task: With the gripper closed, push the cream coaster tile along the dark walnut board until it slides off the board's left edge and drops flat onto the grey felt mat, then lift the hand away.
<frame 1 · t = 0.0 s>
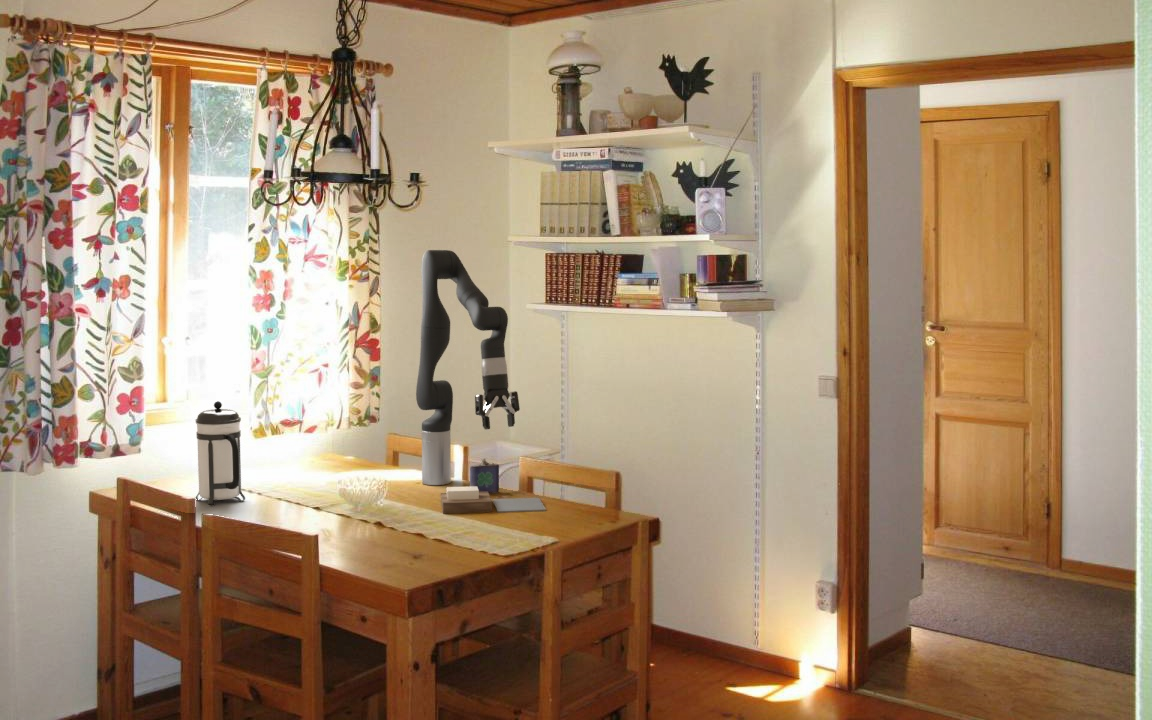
hand: (499, 427, 327), 22 cm above the table, tool pointing down, fingers open, 8 cm apart
mat: (518, 505, 324), on the table
coffee press: (223, 502, 328), on the table
board: (466, 507, 322), on the table
tile: (462, 493, 321), point 4 cm above the table, touching board
flask: (484, 493, 341), on the table
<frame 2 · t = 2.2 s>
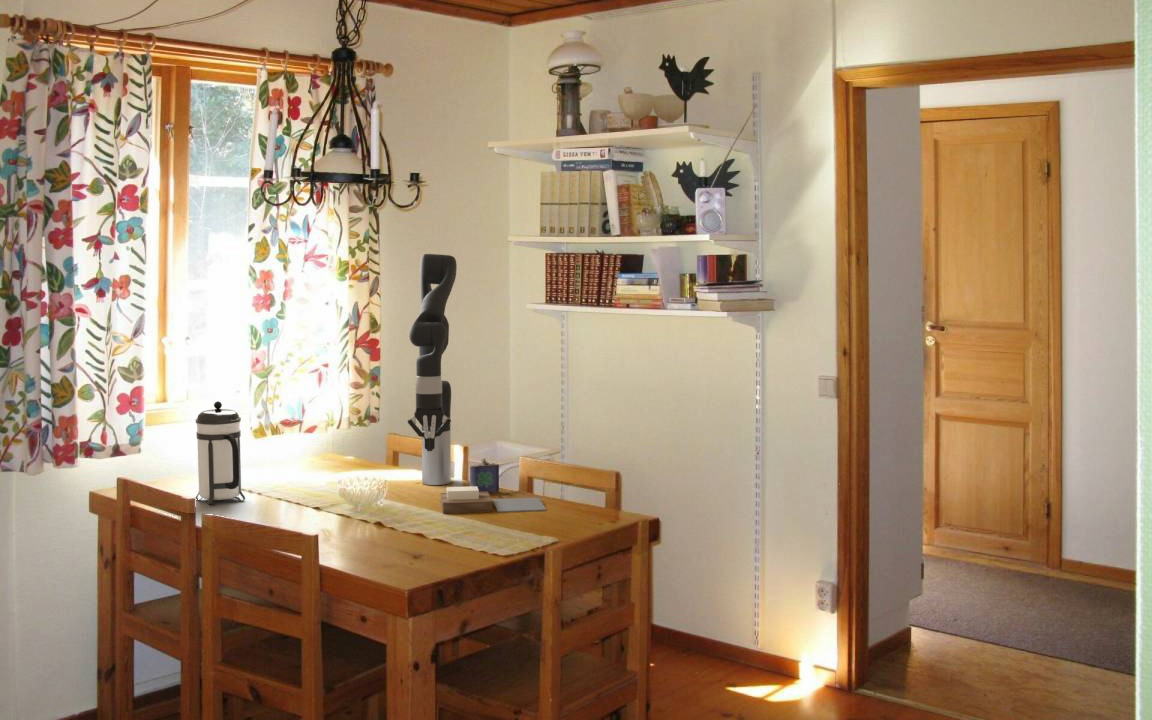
hand: (429, 450, 318), 17 cm above the table, tool pointing down, fingers closed
nothing on the table moved.
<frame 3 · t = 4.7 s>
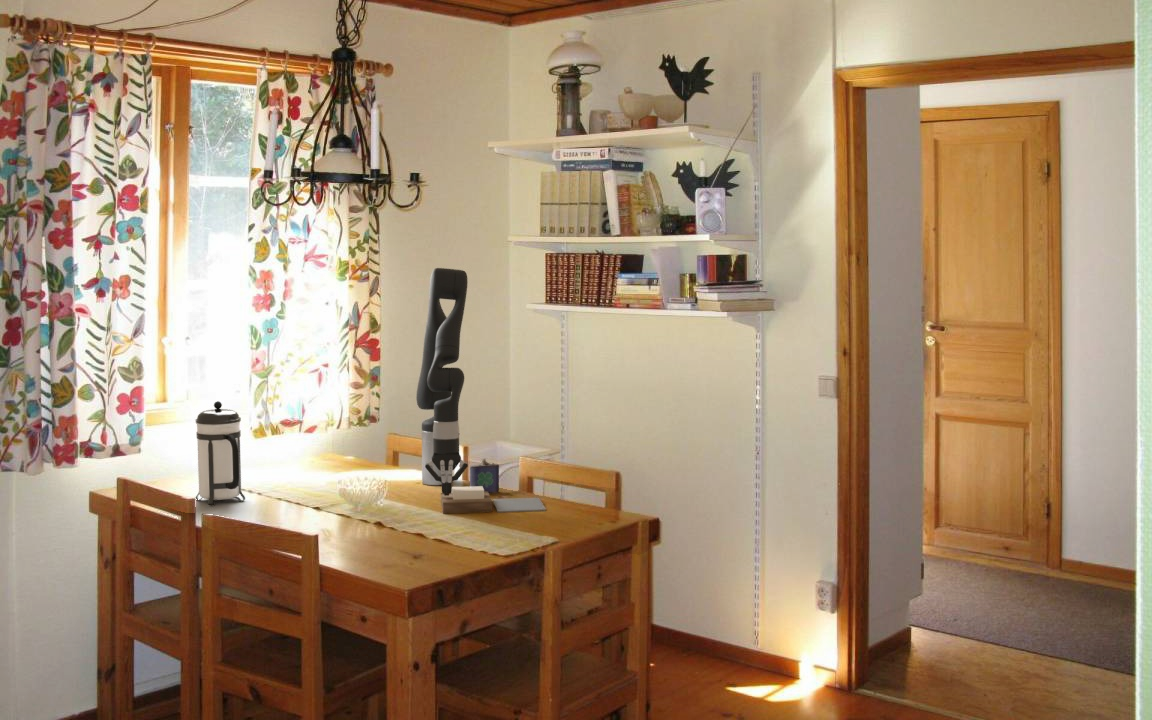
hand: (446, 494, 320), 4 cm above the table, tool pointing down, fingers closed
tile: (467, 492, 321), point 4 cm above the table, touching board, gripper
everything else where it was.
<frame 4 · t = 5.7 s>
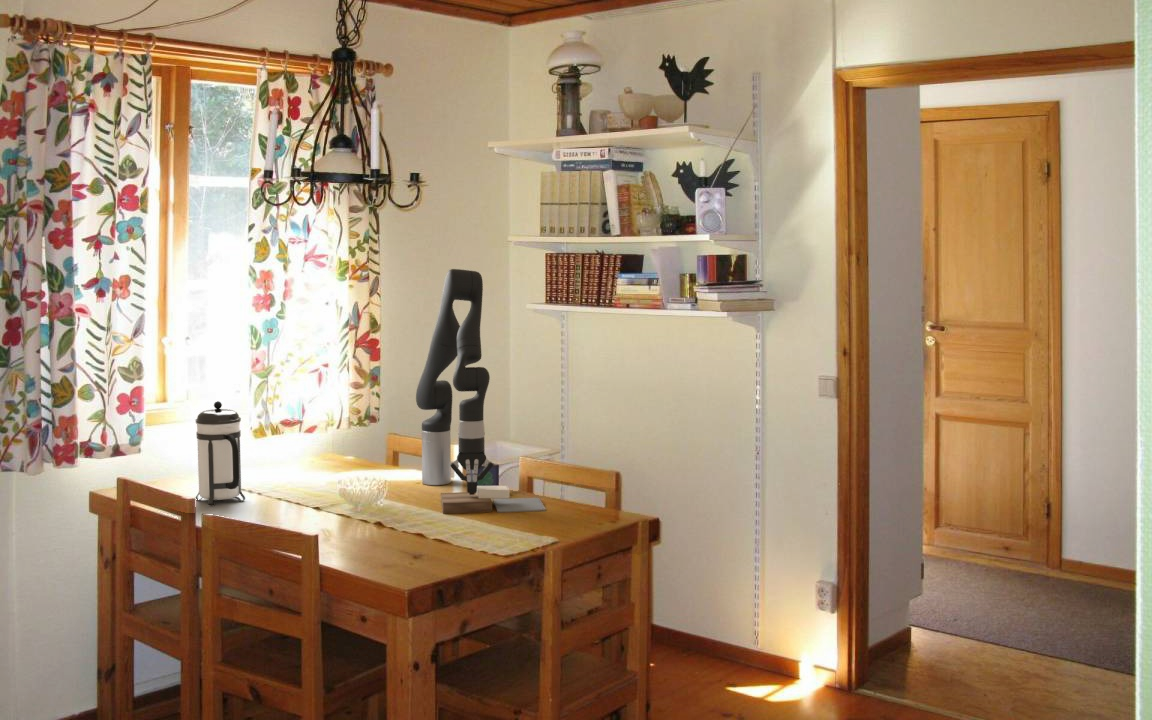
hand: (471, 494, 321), 4 cm above the table, tool pointing down, fingers closed
tile: (492, 491, 323), point 4 cm above the table, touching gripper
everything else where it was.
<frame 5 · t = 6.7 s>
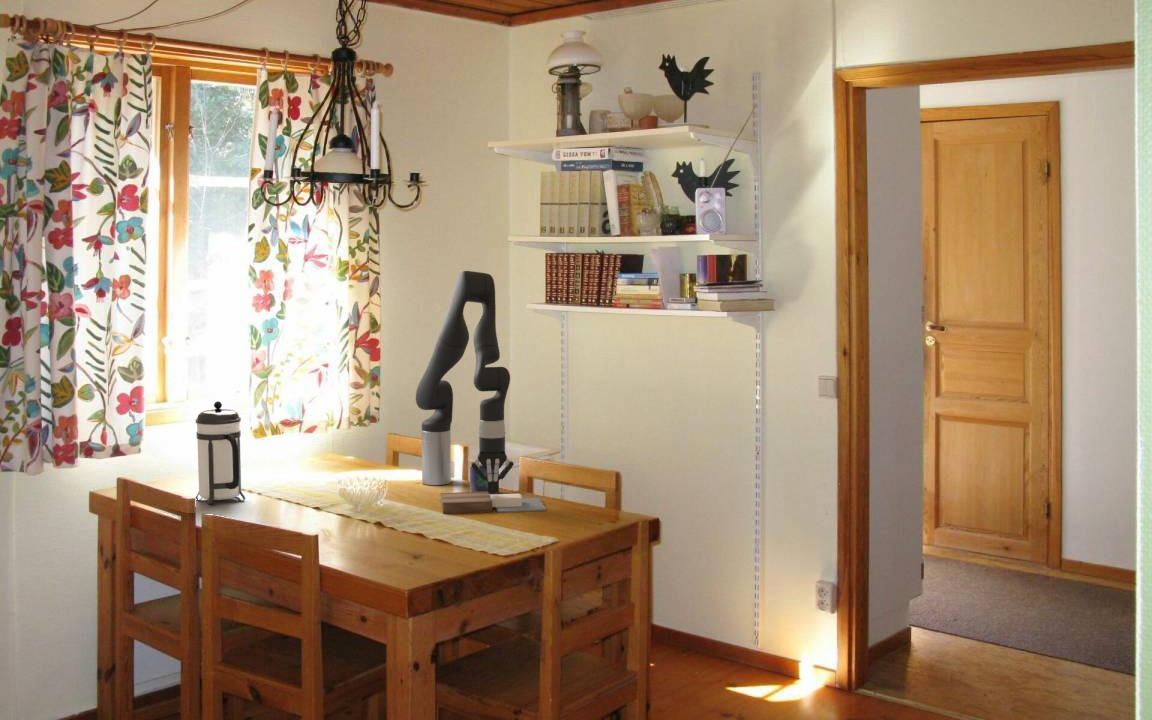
hand: (492, 493, 322), 4 cm above the table, tool pointing down, fingers closed
tile: (505, 500, 323), point 2 cm above the table, touching mat
everything else where it was.
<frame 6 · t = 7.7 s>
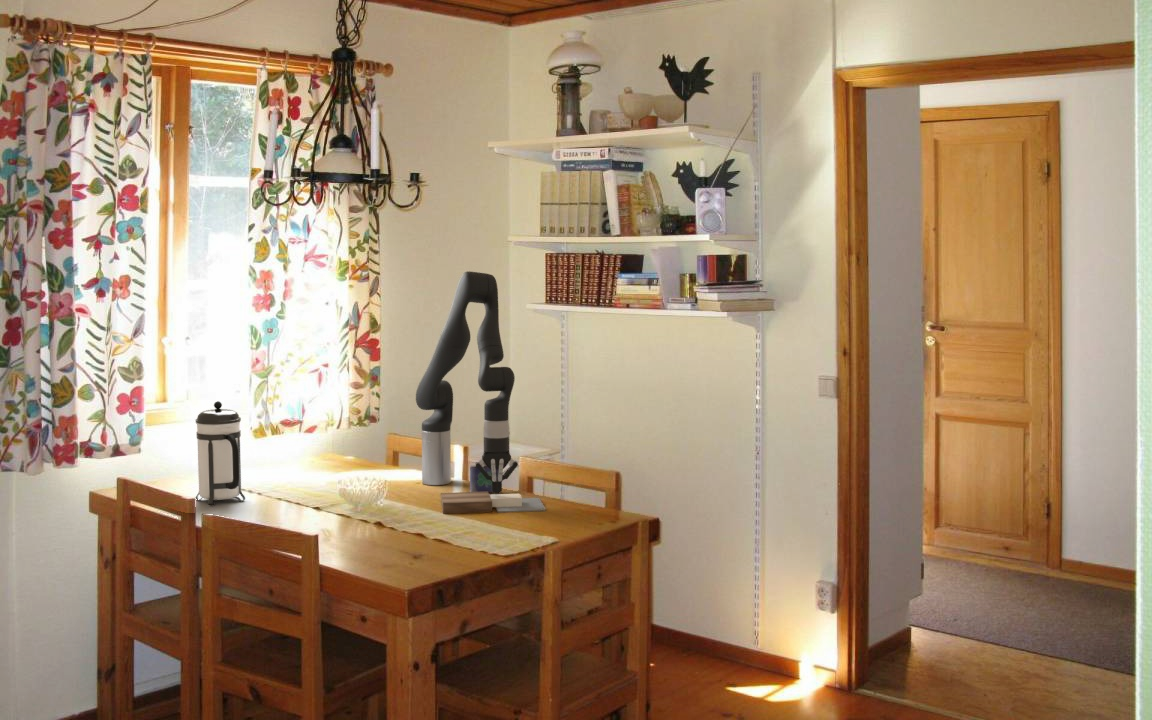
hand: (496, 493, 323), 4 cm above the table, tool pointing down, fingers closed
nothing on the table moved.
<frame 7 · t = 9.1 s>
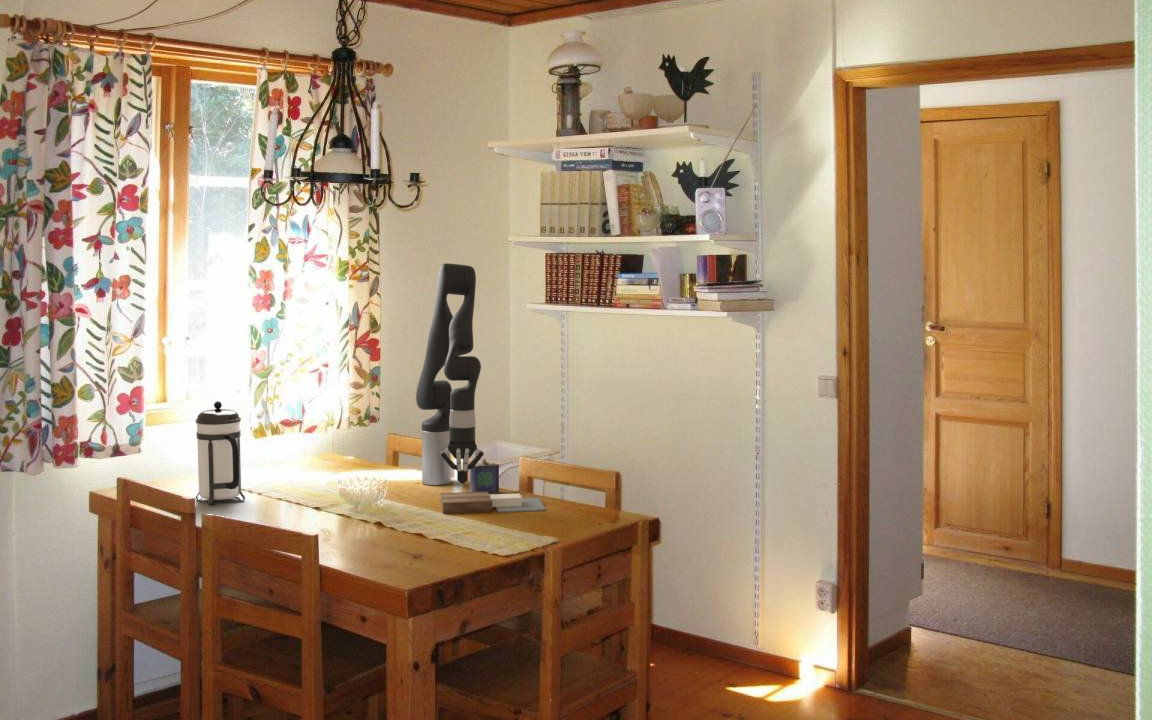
hand: (462, 483, 322), 7 cm above the table, tool pointing down, fingers closed
nothing on the table moved.
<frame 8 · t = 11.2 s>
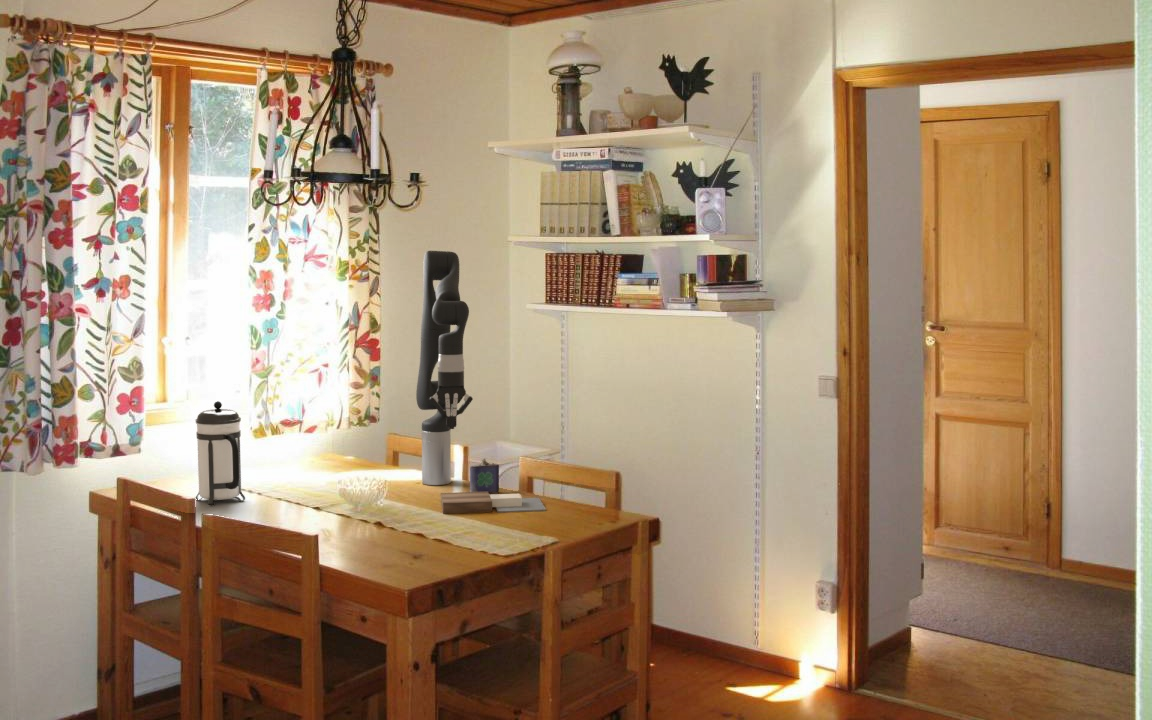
hand: (451, 428, 321), 23 cm above the table, tool pointing down, fingers closed
nothing on the table moved.
at the end: tile point 1.6 cm above the table; tile inside the target area on the mat (3.9 cm from its centre), point 1.6 cm above the mat's base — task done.
